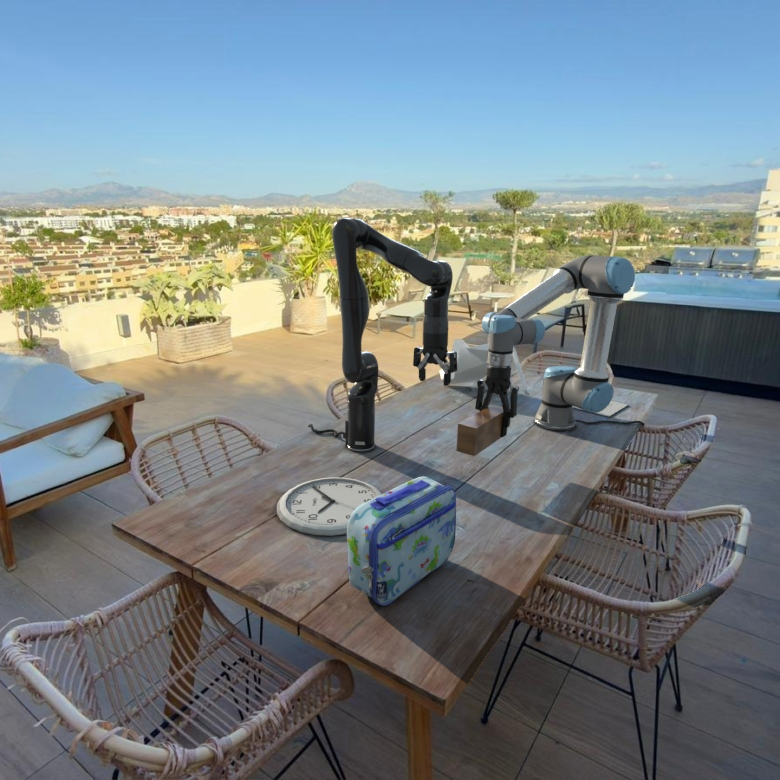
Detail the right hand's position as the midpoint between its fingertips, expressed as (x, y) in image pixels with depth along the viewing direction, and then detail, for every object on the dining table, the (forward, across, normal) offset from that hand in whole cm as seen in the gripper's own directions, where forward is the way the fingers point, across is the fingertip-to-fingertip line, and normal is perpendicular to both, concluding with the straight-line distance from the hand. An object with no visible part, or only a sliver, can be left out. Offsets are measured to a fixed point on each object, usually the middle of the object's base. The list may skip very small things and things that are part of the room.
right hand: (493, 433), depth 171 cm
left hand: (-19, -13, -17) cm, 29 cm away
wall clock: (+9, -20, -55) cm, 60 cm away
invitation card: (+9, +13, +78) cm, 80 cm away
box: (+1, 0, -8) cm, 8 cm away
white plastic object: (+9, -37, +63) cm, 74 cm away
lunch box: (+9, +13, -69) cm, 70 cm away
